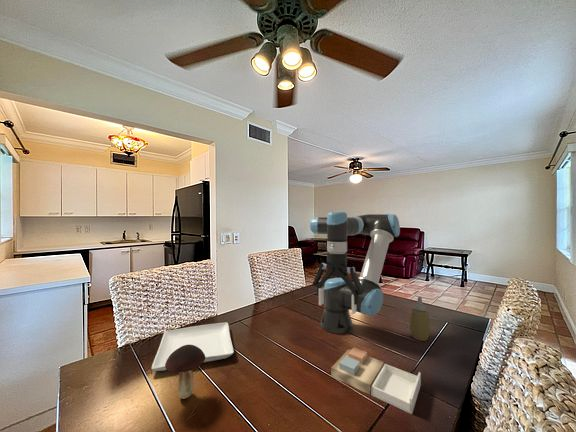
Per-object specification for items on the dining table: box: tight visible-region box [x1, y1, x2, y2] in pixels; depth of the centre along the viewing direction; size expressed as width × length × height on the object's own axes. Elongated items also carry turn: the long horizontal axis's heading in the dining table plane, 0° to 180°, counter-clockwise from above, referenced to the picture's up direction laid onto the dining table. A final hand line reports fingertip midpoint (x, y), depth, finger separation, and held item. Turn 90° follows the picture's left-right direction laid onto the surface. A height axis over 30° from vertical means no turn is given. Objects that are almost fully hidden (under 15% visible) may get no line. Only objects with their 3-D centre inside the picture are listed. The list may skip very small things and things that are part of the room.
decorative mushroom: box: [165, 345, 205, 400], centre depth 69 cm, size 11×11×15 cm
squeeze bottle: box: [409, 296, 431, 342], centre depth 103 cm, size 8×8×18 cm
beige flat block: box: [330, 348, 385, 395], centre depth 80 cm, size 13×14×3 cm
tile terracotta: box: [348, 347, 368, 364], centre depth 83 cm, size 5×5×2 cm
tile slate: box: [339, 356, 360, 375], centre depth 78 cm, size 5×5×2 cm
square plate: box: [151, 321, 235, 372], centre depth 95 cm, size 27×27×4 cm
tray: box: [370, 363, 422, 415], centre depth 72 cm, size 11×14×4 cm
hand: (336, 308), depth 89 cm, fingers open, 13 cm apart
